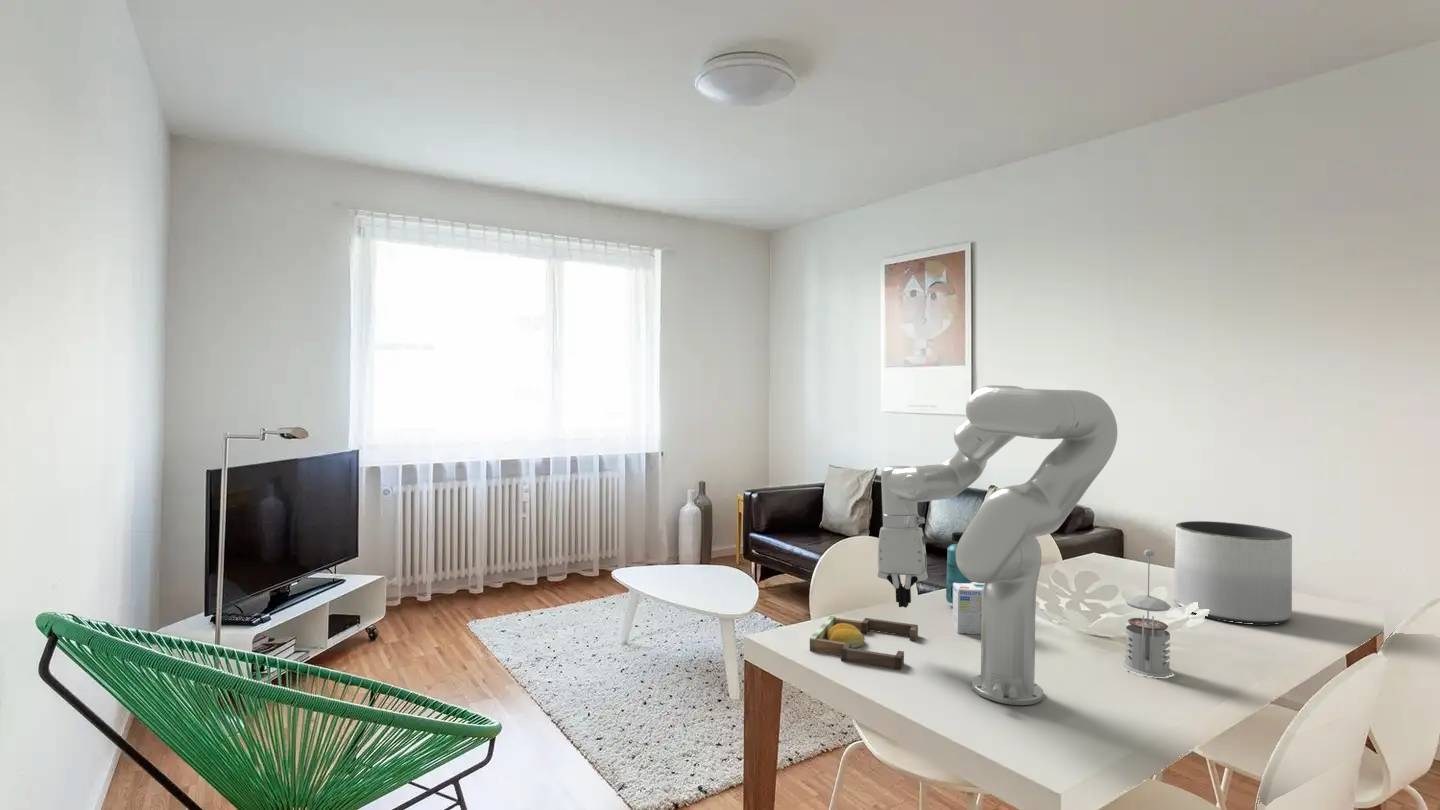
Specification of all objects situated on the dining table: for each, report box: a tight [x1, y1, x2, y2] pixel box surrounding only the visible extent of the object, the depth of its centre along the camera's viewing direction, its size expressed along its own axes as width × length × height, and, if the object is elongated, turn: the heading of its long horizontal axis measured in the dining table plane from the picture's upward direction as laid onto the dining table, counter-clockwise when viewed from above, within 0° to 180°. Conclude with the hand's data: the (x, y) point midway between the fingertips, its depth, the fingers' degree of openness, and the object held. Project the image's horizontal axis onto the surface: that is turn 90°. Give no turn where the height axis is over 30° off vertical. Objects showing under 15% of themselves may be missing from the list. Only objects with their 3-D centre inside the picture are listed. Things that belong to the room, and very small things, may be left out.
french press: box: [1121, 549, 1174, 677], centre depth 147 cm, size 10×12×25 cm
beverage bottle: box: [945, 531, 973, 605], centre depth 191 cm, size 6×7×20 cm
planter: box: [1173, 520, 1293, 625], centre depth 189 cm, size 25×25×22 cm
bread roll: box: [826, 623, 866, 649], centre depth 162 cm, size 8×9×4 cm
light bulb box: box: [952, 582, 985, 635], centre depth 172 cm, size 11×7×11 cm, turn 84°
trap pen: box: [809, 615, 919, 671], centre depth 161 cm, size 23×20×3 cm
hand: (903, 605), depth 157 cm, fingers closed
